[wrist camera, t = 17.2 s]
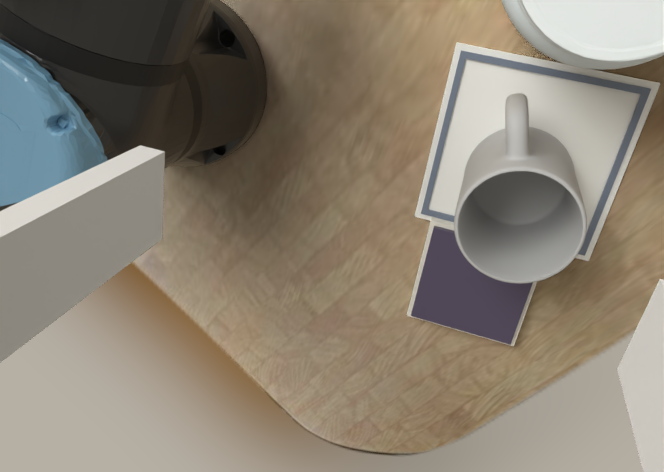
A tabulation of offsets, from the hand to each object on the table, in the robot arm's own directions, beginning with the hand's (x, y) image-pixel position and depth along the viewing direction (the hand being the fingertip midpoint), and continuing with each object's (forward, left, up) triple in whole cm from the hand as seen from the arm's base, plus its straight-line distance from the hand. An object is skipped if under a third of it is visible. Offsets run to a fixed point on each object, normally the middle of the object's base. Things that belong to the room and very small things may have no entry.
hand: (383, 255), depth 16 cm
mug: (+5, -6, -35) cm, 36 cm away
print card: (+6, -6, -35) cm, 36 cm away
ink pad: (+5, -18, -35) cm, 39 cm away
